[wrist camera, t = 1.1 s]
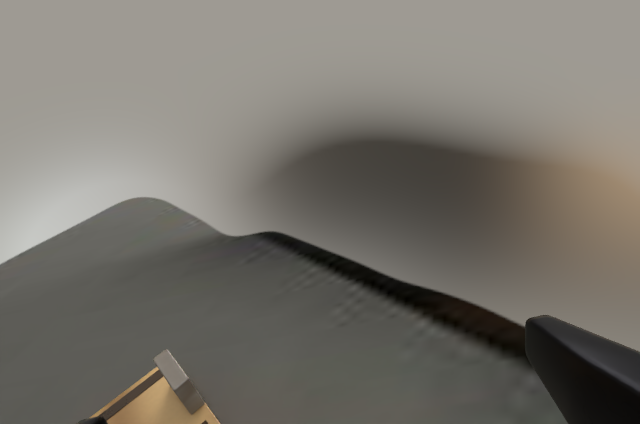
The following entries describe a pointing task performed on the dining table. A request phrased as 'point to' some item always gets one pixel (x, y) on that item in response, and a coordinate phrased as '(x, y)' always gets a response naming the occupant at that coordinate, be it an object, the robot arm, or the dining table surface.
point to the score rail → (160, 398)
